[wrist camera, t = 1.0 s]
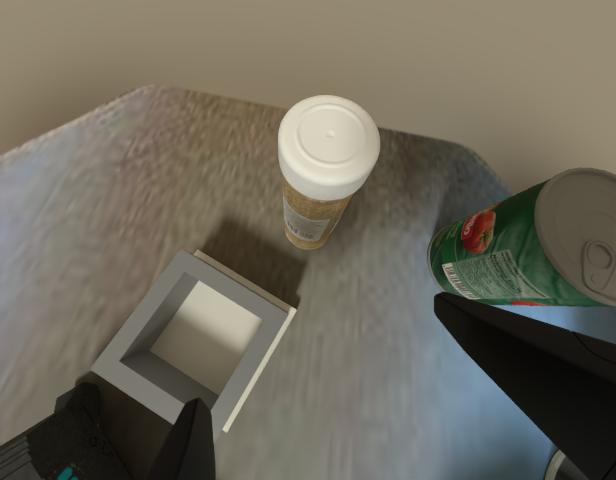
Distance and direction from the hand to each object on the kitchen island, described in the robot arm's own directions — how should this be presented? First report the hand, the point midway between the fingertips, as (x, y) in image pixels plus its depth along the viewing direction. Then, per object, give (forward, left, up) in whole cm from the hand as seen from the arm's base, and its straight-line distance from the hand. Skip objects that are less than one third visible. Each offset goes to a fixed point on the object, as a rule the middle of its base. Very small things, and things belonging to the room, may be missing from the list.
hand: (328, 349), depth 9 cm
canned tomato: (-11, -13, -13) cm, 21 cm away
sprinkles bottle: (+4, -8, -13) cm, 16 cm away
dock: (+6, +4, -13) cm, 15 cm away
